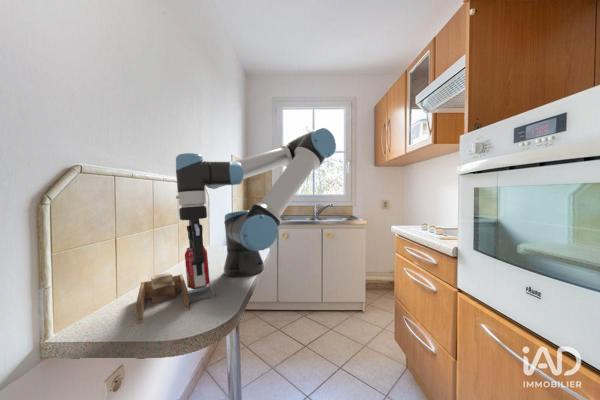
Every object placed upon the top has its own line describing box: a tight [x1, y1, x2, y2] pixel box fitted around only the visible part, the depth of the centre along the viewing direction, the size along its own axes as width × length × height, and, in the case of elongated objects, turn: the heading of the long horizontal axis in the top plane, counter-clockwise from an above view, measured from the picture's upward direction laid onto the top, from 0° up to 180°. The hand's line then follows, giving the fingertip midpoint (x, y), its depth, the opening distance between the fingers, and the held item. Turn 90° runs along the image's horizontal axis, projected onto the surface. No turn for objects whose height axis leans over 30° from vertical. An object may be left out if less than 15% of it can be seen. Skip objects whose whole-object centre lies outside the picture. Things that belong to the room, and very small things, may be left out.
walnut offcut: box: [151, 281, 177, 304], centre depth 73 cm, size 6×4×4 cm, turn 120°
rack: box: [136, 273, 190, 324], centre depth 68 cm, size 11×18×5 cm, turn 30°
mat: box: [188, 285, 216, 304], centre depth 73 cm, size 7×9×1 cm
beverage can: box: [184, 245, 211, 290], centre depth 74 cm, size 6×6×12 cm
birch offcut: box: [150, 272, 173, 289], centre depth 73 cm, size 5×3×3 cm
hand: (198, 283), depth 73 cm, fingers closed on beverage can, 5 cm apart
